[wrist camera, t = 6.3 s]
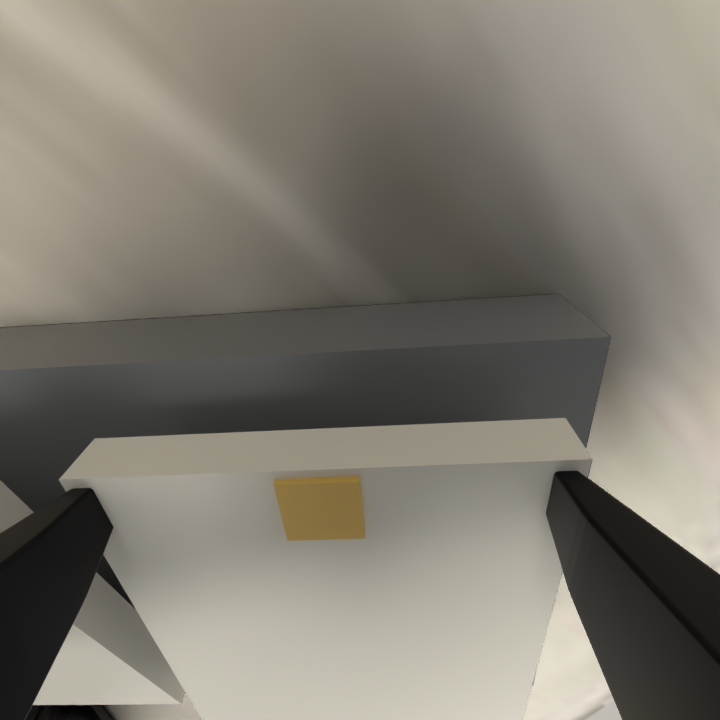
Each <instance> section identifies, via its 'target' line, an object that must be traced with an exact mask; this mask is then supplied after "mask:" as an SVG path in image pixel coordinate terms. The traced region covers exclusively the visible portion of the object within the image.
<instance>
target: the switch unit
mask: <svg viewBox="0 0 720 720" xmlns="http://www.w3.org/2000/svg"><path fill="white" fill-rule="evenodd" d="M610 339H611V336H609V335H608V334H607V333H606V332H605V331H603V330H602V329H601V328H600V327H598V326H597V325H596V324H595V323H594V322H592V321H591V320H590V319H589V318H587V317H586V316H585V315H584V314H583V313H581V312H580V311H579V310H578V309H576V308H575V307H574V306H573V305H572V304H570V303H569V302H568V301H567V300H565V299H564V298H563V297H562V296H561V295H559V294H547V295H531V296H514V297H498V298H482V299H465V300H449V301H432V302H416V303H399V304H383V305H367V306H350V307H334V308H317V309H301V310H285V311H268V312H252V313H235V314H219V315H202V316H186V317H170V318H153V319H137V320H120V321H104V322H88V323H71V324H55V325H38V326H22V327H5V328H0V480H1V481H2V482H3V483H4V484H5V485H6V486H7V487H8V488H9V489H10V490H11V491H12V492H13V493H14V494H15V495H16V496H17V497H18V498H19V499H21V500H22V501H23V502H24V503H25V504H26V505H27V506H28V507H29V508H30V509H31V510H32V511H33V512H35V511H37V510H38V509H40V508H42V507H43V506H45V505H46V504H48V503H50V502H51V501H53V500H54V499H56V498H58V497H59V496H61V495H62V494H64V493H66V491H65V489H64V488H63V486H62V484H61V483H60V481H59V479H60V478H61V476H62V475H63V474H64V473H65V472H66V471H67V470H68V468H69V467H70V466H71V465H72V464H73V463H74V462H75V460H76V459H77V458H78V457H79V456H80V455H81V454H82V452H83V451H84V450H85V449H86V448H87V447H88V446H89V444H90V443H91V442H92V441H93V440H94V439H95V438H118V437H141V436H163V435H186V434H209V433H232V432H254V431H277V430H300V429H323V428H345V427H368V426H391V425H413V424H436V423H459V422H482V421H504V420H527V419H550V418H566V419H567V421H568V422H569V424H570V425H571V427H572V428H573V430H574V431H575V433H576V434H577V436H578V438H579V439H580V441H581V442H582V444H583V445H584V447H585V448H586V447H587V442H588V438H589V433H590V429H591V424H592V420H593V415H594V411H595V406H596V402H597V397H598V393H599V389H600V384H601V380H602V375H603V371H604V366H605V362H606V357H607V353H608V348H609V344H610ZM96 572H97V573H98V574H99V575H100V576H101V577H102V578H103V579H104V580H105V581H106V582H107V583H108V584H109V585H110V586H111V587H112V588H113V589H115V590H116V591H117V592H118V593H119V594H120V595H121V596H122V597H123V598H124V599H125V600H126V601H127V602H128V603H129V604H130V605H131V606H132V607H133V608H134V609H135V607H134V605H133V604H132V602H131V600H130V599H129V597H128V595H127V593H126V592H125V590H124V588H123V587H122V585H121V583H120V582H119V580H118V578H117V577H116V575H115V573H114V572H113V570H112V568H111V567H110V565H109V563H108V562H107V560H106V558H105V557H104V555H103V556H102V559H101V561H100V564H99V566H98V569H97V571H96ZM135 610H136V609H135ZM136 611H137V610H136ZM536 670H537V669H536ZM535 674H536V673H535ZM534 679H535V677H534ZM533 683H534V680H533ZM532 686H533V684H532Z"/></svg>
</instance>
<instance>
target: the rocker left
mask: <svg viewBox="0 0 720 720" xmlns="http://www.w3.org/2000/svg"><path fill="white" fill-rule="evenodd" d="M32 513H34V512H33V511H32V510H31V509H30V508H29V507H28V506H27V505H26V504H25V503H24V502H23V501H22V500H21V499H19V498H18V497H17V496H16V495H15V494H14V493H13V492H12V491H11V490H10V489H9V488H8V487H7V486H6V485H5V484H4V483H3V482H2V481H1V480H0V533H2V532H3V531H5V530H6V529H8V528H10V527H11V526H13V525H14V524H16V523H18V522H19V521H21V520H22V519H24V518H26V517H27V516H29V515H30V514H32ZM184 694H185V691H184V689H183V688H182V686H181V684H180V683H179V681H178V679H177V677H176V676H175V674H174V672H173V671H172V669H171V667H170V666H169V664H168V662H167V661H166V659H165V657H164V656H163V654H162V652H161V651H160V649H159V647H158V646H157V644H156V642H155V641H154V639H153V637H152V635H151V634H150V632H149V630H148V629H147V627H146V625H145V624H144V622H143V620H142V619H141V617H140V615H139V614H138V612H137V611H136V610H135V609H134V608H133V607H132V606H131V605H130V604H129V603H128V602H127V601H126V600H125V599H124V598H123V597H122V596H121V595H120V594H119V593H118V592H117V591H116V590H115V589H113V588H112V587H111V586H110V585H109V584H108V583H107V582H106V581H105V580H104V579H103V578H102V577H101V576H100V575H99V574H98V573H97V572H96V574H95V576H94V579H93V582H92V584H91V587H90V589H89V591H88V594H87V596H86V598H85V600H84V603H83V605H82V607H81V609H80V611H79V613H78V615H77V617H76V619H75V621H74V623H73V625H72V627H71V629H70V631H69V633H68V635H67V637H66V639H65V641H64V643H63V645H62V647H61V649H60V651H59V653H58V655H57V657H56V659H55V661H54V663H53V665H52V667H51V669H50V671H49V673H48V675H47V677H46V679H45V681H44V683H43V685H42V687H41V689H40V691H39V693H38V695H37V697H36V699H35V701H34V703H33V705H144V704H182V701H183V697H184Z"/></svg>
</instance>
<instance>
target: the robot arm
mask: <svg viewBox="0 0 720 720" xmlns="http://www.w3.org/2000/svg"><path fill="white" fill-rule="evenodd" d="M546 516H547V520H548V523H549V526H550V530H551V533H552V536H553V540H554V543H555V546H556V550H557V553H558V557H559V560H560V563H561V567H562V570H563V573H564V577H565V580H566V583H567V586H568V589H569V592H570V594H571V597H572V599H573V602H574V605H575V607H576V609H577V612H578V614H579V617H580V619H581V621H582V624H583V626H584V629H585V631H586V633H587V636H588V638H589V641H590V643H591V645H592V648H593V650H594V653H595V655H596V657H597V660H598V662H599V665H600V667H601V669H602V672H603V674H604V677H605V679H606V681H607V684H608V686H609V689H610V691H611V694H612V696H613V698H614V701H615V703H616V705H617V708H618V710H619V713H620V715H621V718H622V720H720V574H719V573H717V572H716V571H714V570H713V569H712V568H710V567H709V566H708V565H706V564H705V563H704V562H702V561H701V560H699V559H698V558H697V557H695V556H694V555H693V554H691V553H690V552H688V551H687V550H686V549H684V548H683V547H682V546H680V545H679V544H677V543H676V542H675V541H673V540H672V539H671V538H669V537H668V536H667V535H665V534H664V533H662V532H661V531H660V530H658V529H657V528H656V527H654V526H653V525H651V524H650V523H649V522H647V521H646V520H645V519H643V518H642V517H641V516H639V515H638V514H636V513H635V512H634V511H632V510H631V509H630V508H628V507H627V506H625V505H624V504H623V503H621V502H620V501H619V500H617V499H616V498H615V497H613V496H612V495H610V494H609V493H608V492H606V491H605V490H604V489H602V488H601V487H599V486H598V485H597V484H595V483H594V482H593V481H591V480H590V479H588V478H587V477H586V476H584V475H583V474H582V473H580V472H579V471H557V472H555V473H554V477H553V481H552V486H551V491H550V496H549V500H548V505H547V510H546ZM113 528H114V527H113V525H112V523H111V521H110V520H109V518H108V516H107V514H106V512H105V510H104V509H103V507H102V505H101V503H100V501H99V499H98V498H97V496H96V494H95V492H94V490H93V489H91V488H73V489H70V490H69V491H67V492H66V493H64V494H62V495H61V496H59V497H58V498H56V499H54V500H53V501H51V502H50V503H48V504H46V505H45V506H43V507H42V508H40V509H38V510H37V511H35V512H34V513H32V514H30V515H29V516H27V517H26V518H24V519H22V520H21V521H19V522H18V523H16V524H14V525H13V526H11V527H10V528H8V529H6V530H5V531H3V532H2V533H0V720H112V719H111V718H110V717H109V715H108V714H107V712H106V711H105V710H104V708H103V707H102V705H33V703H34V701H35V699H36V697H37V695H38V693H39V691H40V689H41V687H42V685H43V683H44V681H45V679H46V677H47V675H48V673H49V671H50V669H51V667H52V665H53V663H54V661H55V659H56V657H57V655H58V653H59V651H60V649H61V647H62V645H63V643H64V641H65V639H66V637H67V635H68V633H69V631H70V629H71V627H72V625H73V623H74V621H75V619H76V617H77V615H78V613H79V611H80V609H81V607H82V605H83V603H84V600H85V598H86V596H87V594H88V591H89V589H90V587H91V584H92V582H93V579H94V576H95V574H96V571H97V569H98V566H99V564H100V561H101V559H102V556H103V553H104V551H105V548H106V546H107V543H108V541H109V538H110V535H111V533H112V530H113Z"/></svg>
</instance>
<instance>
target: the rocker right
mask: <svg viewBox="0 0 720 720" xmlns="http://www.w3.org/2000/svg"><path fill="white" fill-rule="evenodd" d="M592 460H593V459H592V457H591V456H590V454H589V453H588V451H587V450H586V448H585V447H584V445H583V444H582V442H581V441H580V439H579V438H578V436H577V434H576V433H575V431H574V430H573V428H572V427H571V425H570V424H569V422H568V421H567V419H566V418H550V419H527V420H504V421H482V422H459V423H436V424H413V425H391V426H368V427H345V428H323V429H300V430H277V431H254V432H232V433H209V434H186V435H163V436H141V437H118V438H95V439H94V440H93V441H92V442H91V443H90V444H89V446H88V447H87V448H86V449H85V450H84V451H83V452H82V454H81V455H80V456H79V457H78V458H77V459H76V460H75V462H74V463H73V464H72V465H71V466H70V467H69V468H68V470H67V471H66V472H65V473H64V474H63V475H62V476H61V478H60V479H59V481H60V483H61V484H62V486H63V488H64V489H65V491H66V492H67V491H69V490H70V489H73V488H91V489H93V490H94V492H95V494H96V496H97V498H98V499H99V501H100V503H101V505H102V507H103V509H104V510H105V512H106V514H107V516H108V518H109V520H110V521H111V523H112V525H113V527H114V528H113V530H112V533H111V535H110V538H109V541H108V543H107V546H106V548H105V551H104V553H103V555H104V557H105V558H106V560H107V562H108V563H109V565H110V567H111V568H112V570H113V572H114V573H115V575H116V577H117V578H118V580H119V582H120V583H121V585H122V587H123V588H124V590H125V592H126V593H127V595H128V597H129V599H130V600H131V602H132V604H133V605H134V607H135V609H136V610H137V612H138V614H139V615H140V617H141V619H142V620H143V622H144V624H145V625H146V627H147V629H148V630H149V632H150V634H151V635H152V637H153V639H154V641H155V642H156V644H157V646H158V647H159V649H160V651H161V652H162V654H163V656H164V657H165V659H166V661H167V662H168V664H169V666H170V667H171V669H172V671H173V672H174V674H175V676H176V677H177V679H178V681H179V683H180V684H181V686H182V688H183V689H184V691H185V693H186V694H187V696H188V698H189V699H190V701H191V703H192V704H193V706H194V708H195V709H196V711H197V713H198V714H199V716H200V718H201V719H202V720H523V718H524V714H525V710H526V707H527V703H528V699H529V695H530V692H531V688H532V684H533V680H534V677H535V673H536V669H537V666H538V662H539V658H540V654H541V651H542V647H543V643H544V639H545V636H546V632H547V628H548V624H549V621H550V617H551V613H552V609H553V606H554V602H555V598H556V594H557V591H558V587H559V583H560V580H561V576H562V572H563V570H562V567H561V563H560V560H559V557H558V553H557V550H556V546H555V543H554V540H553V536H552V533H551V530H550V526H549V523H548V520H547V516H546V510H547V505H548V500H549V496H550V491H551V486H552V481H553V477H554V473H555V472H557V471H579V472H580V473H582V474H583V475H584V476H586V477H587V478H588V475H589V471H590V467H591V464H592Z"/></svg>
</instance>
